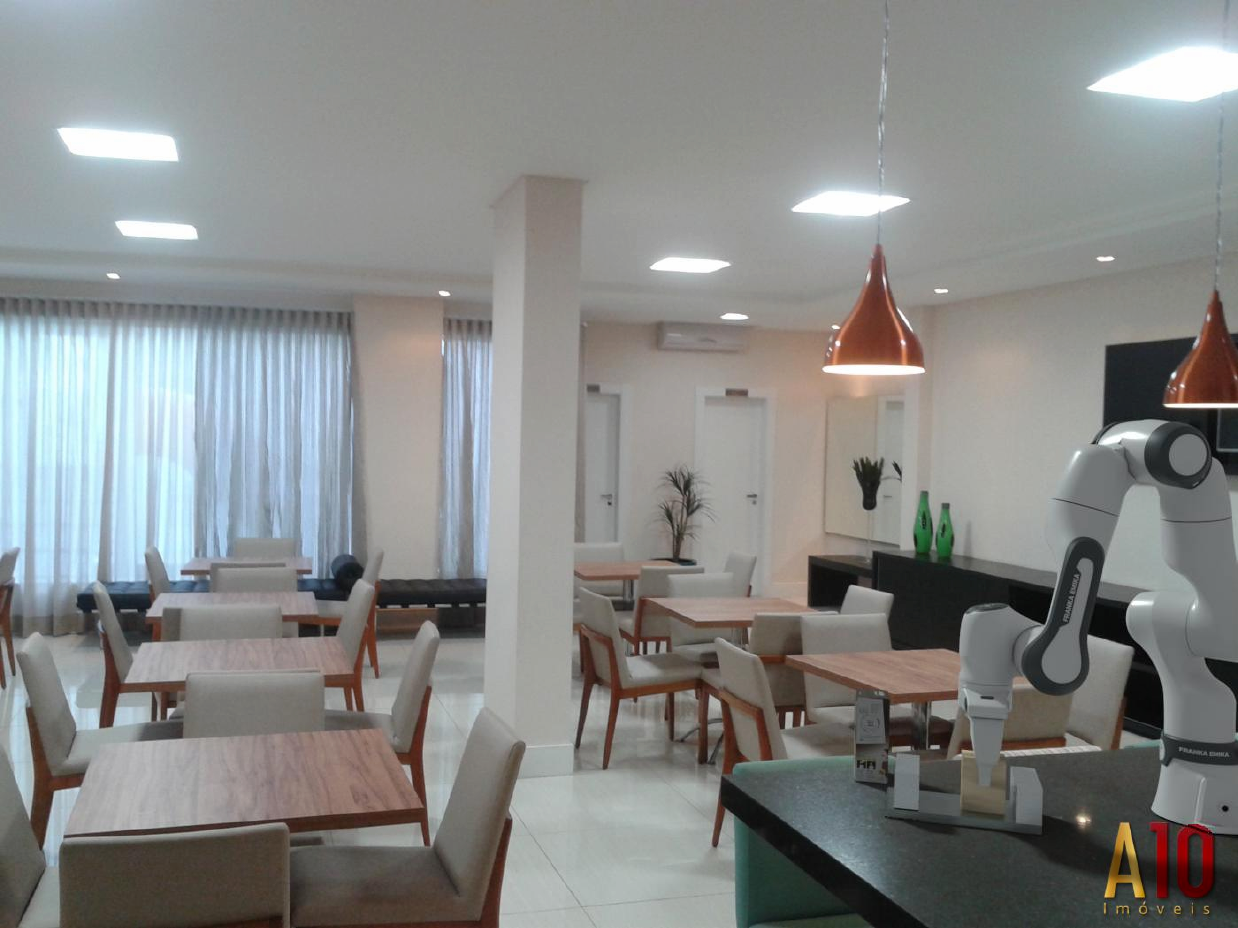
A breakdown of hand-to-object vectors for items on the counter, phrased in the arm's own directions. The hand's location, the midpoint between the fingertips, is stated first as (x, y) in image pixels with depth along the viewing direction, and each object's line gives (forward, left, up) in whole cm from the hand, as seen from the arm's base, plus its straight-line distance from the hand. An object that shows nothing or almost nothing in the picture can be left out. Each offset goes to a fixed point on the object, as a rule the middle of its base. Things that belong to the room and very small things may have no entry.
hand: (982, 777), depth 183 cm
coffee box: (+20, -18, -7) cm, 27 cm away
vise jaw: (+13, 0, -5) cm, 13 cm away
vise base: (+4, 0, -7) cm, 7 cm away
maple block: (0, 0, -5) cm, 5 cm away
